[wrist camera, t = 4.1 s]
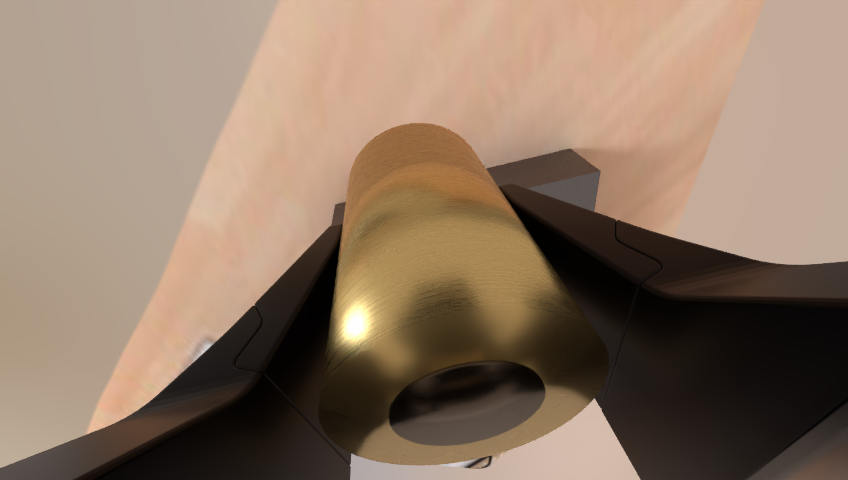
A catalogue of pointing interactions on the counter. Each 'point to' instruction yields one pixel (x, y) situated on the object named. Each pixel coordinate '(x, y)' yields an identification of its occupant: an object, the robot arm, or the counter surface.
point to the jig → (542, 179)
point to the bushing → (446, 313)
